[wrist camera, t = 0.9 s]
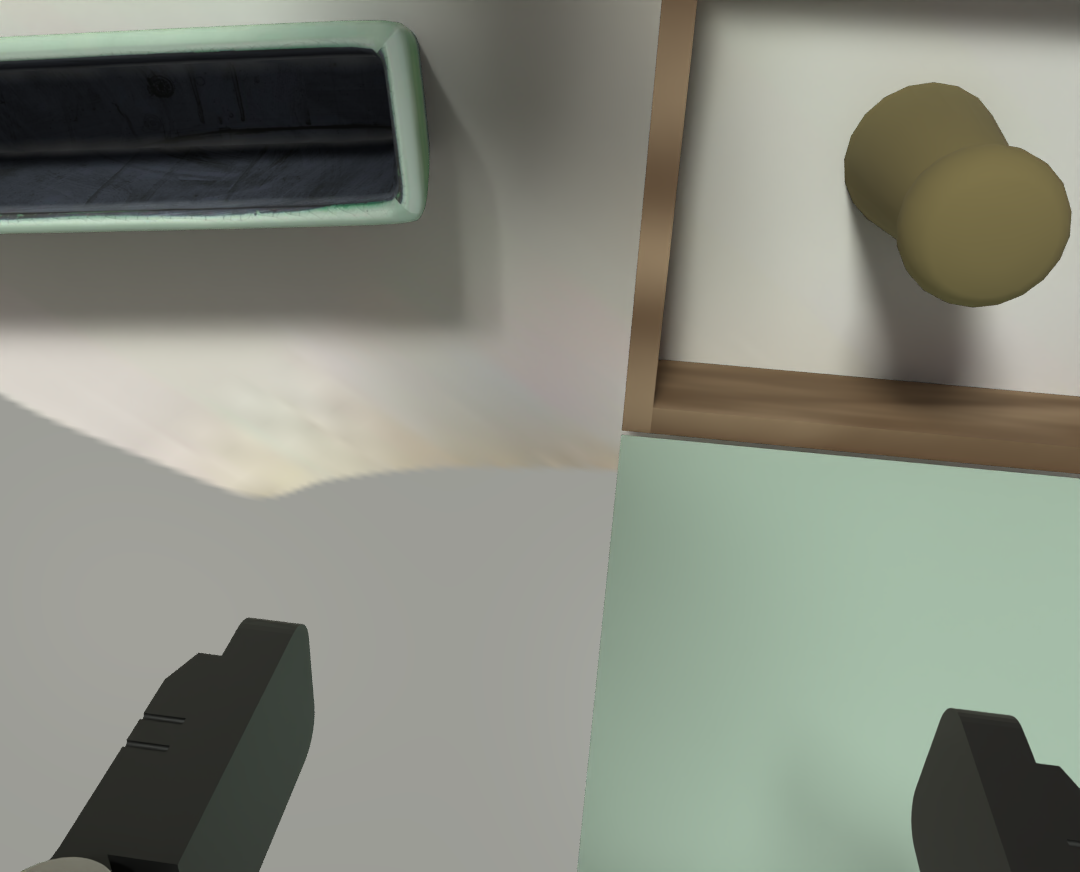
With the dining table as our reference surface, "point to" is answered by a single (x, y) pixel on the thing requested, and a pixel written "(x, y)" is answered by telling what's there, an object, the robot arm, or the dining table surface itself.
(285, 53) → the planter
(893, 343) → the dining table surface
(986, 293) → the cork
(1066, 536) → the lid
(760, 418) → the cold frame
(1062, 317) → the dining table surface
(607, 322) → the dining table surface
